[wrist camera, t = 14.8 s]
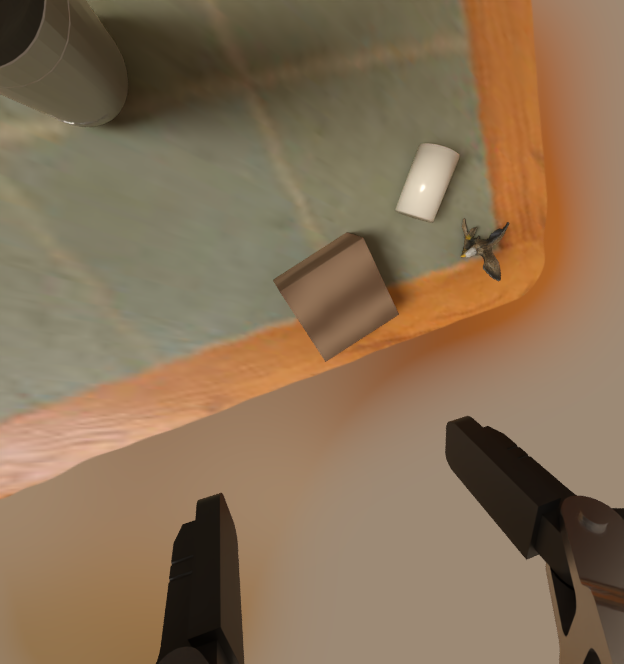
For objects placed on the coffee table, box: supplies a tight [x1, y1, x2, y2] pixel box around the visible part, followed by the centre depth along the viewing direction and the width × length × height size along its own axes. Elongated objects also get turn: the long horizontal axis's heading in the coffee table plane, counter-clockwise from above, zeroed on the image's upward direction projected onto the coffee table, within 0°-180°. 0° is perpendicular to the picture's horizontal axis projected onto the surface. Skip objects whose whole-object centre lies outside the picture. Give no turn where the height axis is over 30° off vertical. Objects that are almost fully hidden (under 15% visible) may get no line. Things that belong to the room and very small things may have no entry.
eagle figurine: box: [460, 219, 509, 281], centre depth 46 cm, size 8×7×9 cm
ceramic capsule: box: [395, 143, 460, 222], centre depth 43 cm, size 5×5×8 cm
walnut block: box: [273, 233, 399, 362], centre depth 45 cm, size 12×12×6 cm
